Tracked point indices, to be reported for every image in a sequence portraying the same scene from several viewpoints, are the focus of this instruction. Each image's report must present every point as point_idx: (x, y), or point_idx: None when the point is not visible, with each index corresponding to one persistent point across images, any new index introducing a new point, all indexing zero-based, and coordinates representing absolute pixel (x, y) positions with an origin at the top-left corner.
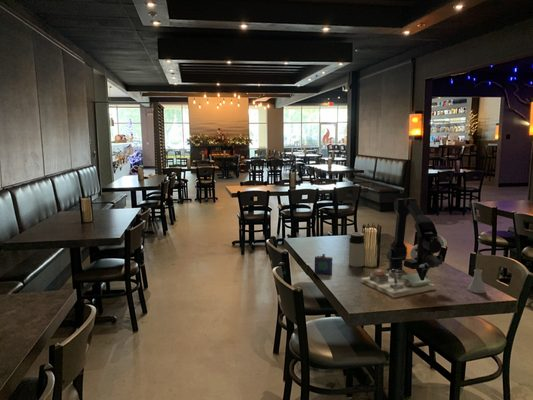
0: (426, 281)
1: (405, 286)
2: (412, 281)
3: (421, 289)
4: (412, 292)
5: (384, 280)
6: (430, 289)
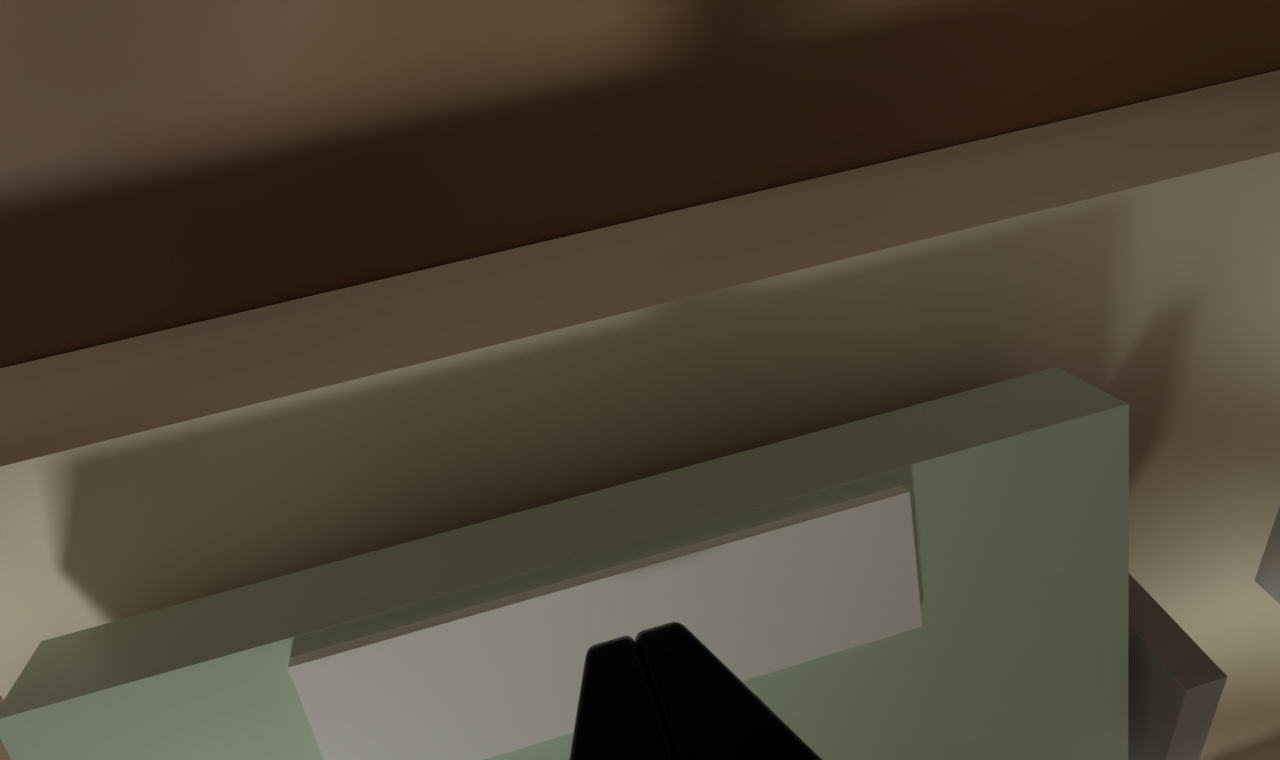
0: (343, 650)
1: (1142, 480)
2: (1013, 626)
3: (719, 252)
4: (1136, 126)
5: None
6: (198, 334)
